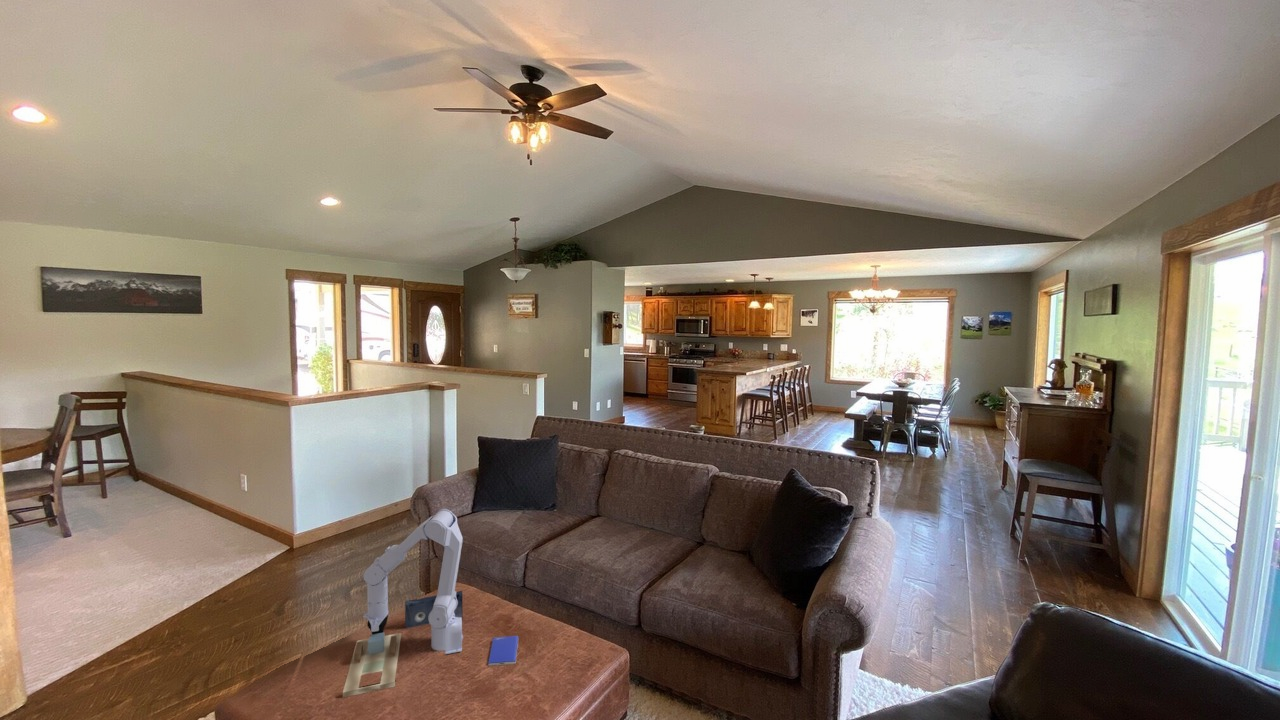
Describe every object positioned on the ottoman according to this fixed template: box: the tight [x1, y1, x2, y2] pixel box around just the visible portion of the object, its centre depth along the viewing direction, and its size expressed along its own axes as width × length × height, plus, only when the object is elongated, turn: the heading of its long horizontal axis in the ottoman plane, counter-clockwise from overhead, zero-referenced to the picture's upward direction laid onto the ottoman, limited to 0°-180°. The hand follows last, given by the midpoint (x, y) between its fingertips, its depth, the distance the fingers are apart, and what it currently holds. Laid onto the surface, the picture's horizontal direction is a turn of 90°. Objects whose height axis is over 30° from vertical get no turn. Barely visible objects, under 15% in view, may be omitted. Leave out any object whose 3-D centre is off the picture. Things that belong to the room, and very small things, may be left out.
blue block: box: [368, 632, 385, 655], centre depth 159 cm, size 4×4×4 cm
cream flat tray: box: [342, 632, 402, 698], centre depth 154 cm, size 13×24×4 cm, turn 21°
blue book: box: [487, 635, 519, 667], centre depth 162 cm, size 2×8×12 cm
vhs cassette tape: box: [404, 590, 464, 629], centre depth 175 cm, size 18×3×10 cm, turn 114°
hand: (378, 640), depth 163 cm, fingers closed
